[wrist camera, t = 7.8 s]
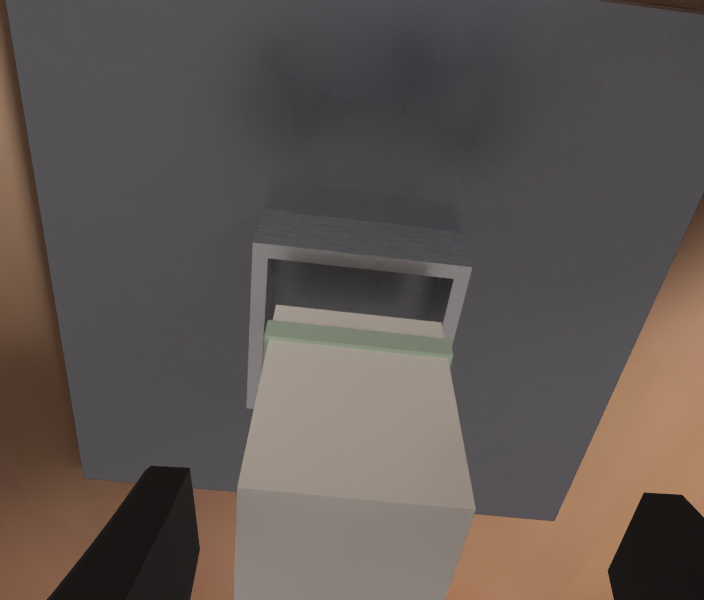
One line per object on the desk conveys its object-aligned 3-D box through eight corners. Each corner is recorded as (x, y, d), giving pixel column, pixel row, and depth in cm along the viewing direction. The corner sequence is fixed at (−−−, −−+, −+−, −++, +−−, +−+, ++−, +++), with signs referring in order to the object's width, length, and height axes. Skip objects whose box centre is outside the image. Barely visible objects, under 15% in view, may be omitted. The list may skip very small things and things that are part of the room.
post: (446, 319, 15) (482, 506, 10) (415, 443, 17) (435, 641, 13) (271, 300, 15) (231, 482, 10) (264, 428, 17) (227, 624, 13)
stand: (756, 18, 16) (859, 49, 12) (548, 500, 25) (574, 588, 22) (13, -84, 15) (-85, -78, 11) (93, 457, 24) (52, 542, 21)
